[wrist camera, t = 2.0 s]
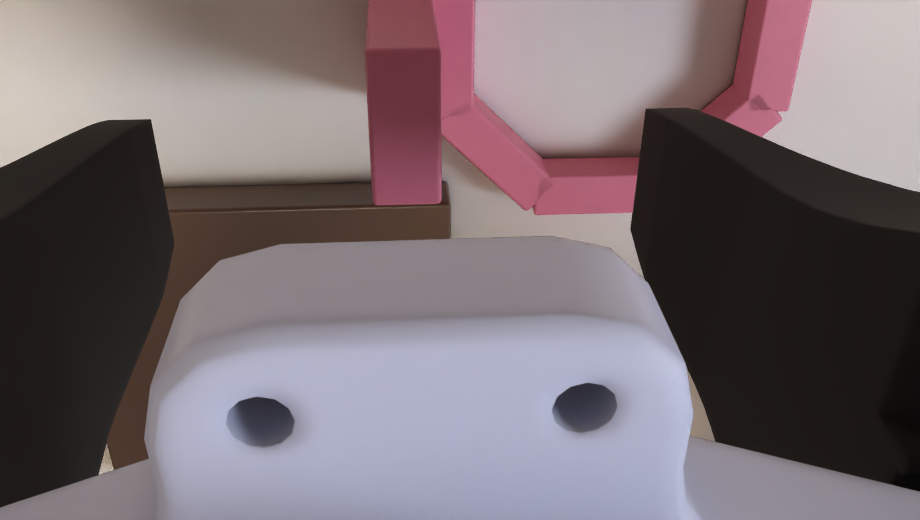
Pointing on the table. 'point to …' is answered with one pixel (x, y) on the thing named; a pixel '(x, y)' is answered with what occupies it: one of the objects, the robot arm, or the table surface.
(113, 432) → the stand
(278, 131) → the table surface
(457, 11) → the pink octagonal frame
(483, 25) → the table surface
